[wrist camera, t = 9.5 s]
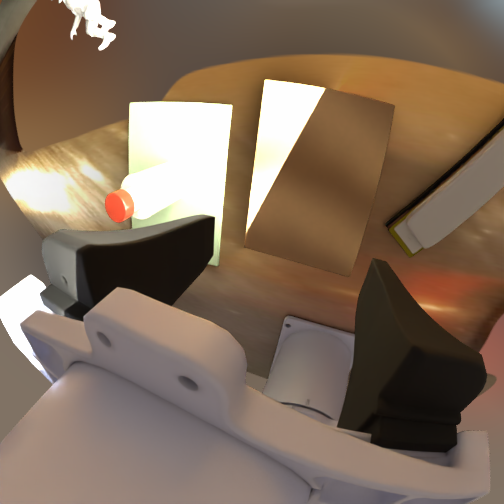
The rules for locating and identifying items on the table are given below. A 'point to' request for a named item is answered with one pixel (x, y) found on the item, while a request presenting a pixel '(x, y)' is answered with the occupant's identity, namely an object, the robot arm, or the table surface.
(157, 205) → the spice bottle
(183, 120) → the mat
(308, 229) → the small bench
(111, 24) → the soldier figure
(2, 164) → the table surface
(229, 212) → the table surface
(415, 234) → the harmonica
